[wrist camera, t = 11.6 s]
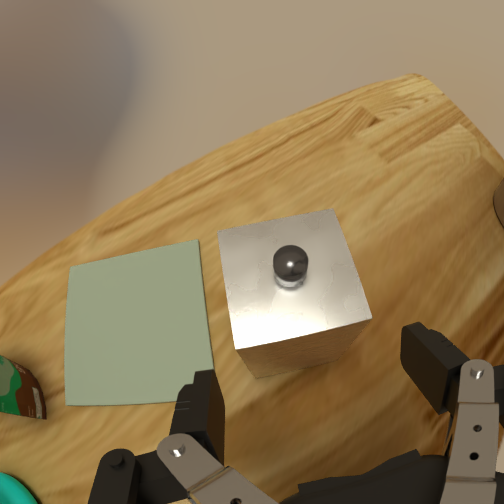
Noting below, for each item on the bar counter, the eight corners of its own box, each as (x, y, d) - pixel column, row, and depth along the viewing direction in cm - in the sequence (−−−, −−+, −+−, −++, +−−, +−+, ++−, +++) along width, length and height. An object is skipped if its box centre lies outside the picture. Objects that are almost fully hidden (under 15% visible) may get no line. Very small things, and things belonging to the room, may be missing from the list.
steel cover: (317, 286, 26) (335, 194, 16) (337, 360, 23) (379, 309, 13) (241, 302, 26) (212, 217, 16) (255, 378, 23) (231, 343, 13)
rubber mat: (198, 241, 29) (197, 239, 29) (218, 396, 22) (217, 395, 22) (72, 268, 29) (70, 267, 29) (68, 405, 22) (65, 405, 22)
